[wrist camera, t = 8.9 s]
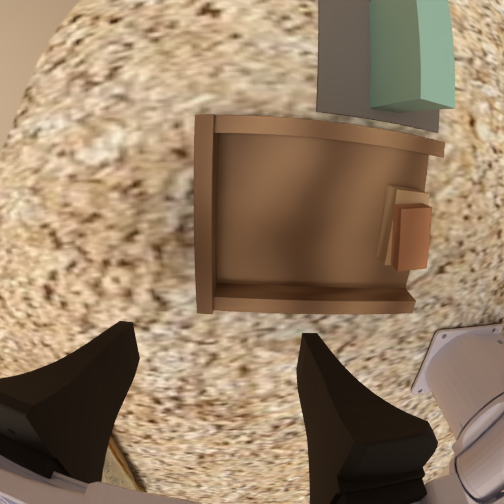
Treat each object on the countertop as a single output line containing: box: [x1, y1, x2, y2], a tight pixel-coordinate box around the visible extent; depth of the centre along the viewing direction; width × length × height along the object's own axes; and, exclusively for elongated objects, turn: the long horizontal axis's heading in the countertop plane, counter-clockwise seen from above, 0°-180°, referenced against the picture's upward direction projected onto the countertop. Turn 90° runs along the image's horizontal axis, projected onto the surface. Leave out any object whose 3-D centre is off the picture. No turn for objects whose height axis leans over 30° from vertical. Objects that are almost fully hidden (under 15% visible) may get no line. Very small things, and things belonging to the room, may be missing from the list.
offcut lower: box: [377, 185, 430, 265], centre depth 19 cm, size 2×5×2 cm, turn 177°
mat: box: [316, 0, 439, 133], centre depth 16 cm, size 9×10×1 cm
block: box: [369, 0, 455, 113], centre depth 13 cm, size 2×8×7 cm, turn 178°
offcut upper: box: [391, 203, 432, 272], centre depth 18 cm, size 2×4×1 cm, turn 6°
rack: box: [194, 114, 445, 314], centre depth 19 cm, size 15×12×3 cm
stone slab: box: [101, 436, 147, 493], centre depth 33 cm, size 12×4×30 cm
